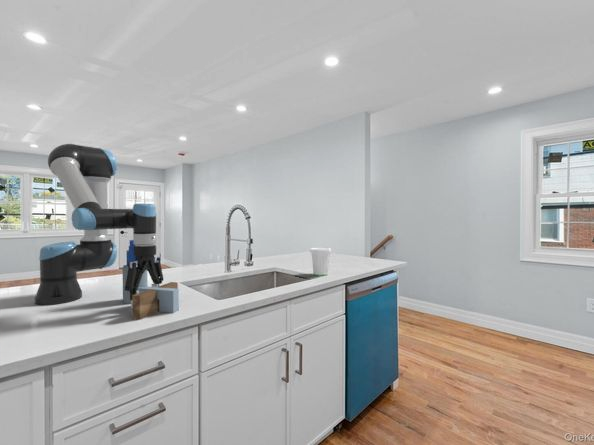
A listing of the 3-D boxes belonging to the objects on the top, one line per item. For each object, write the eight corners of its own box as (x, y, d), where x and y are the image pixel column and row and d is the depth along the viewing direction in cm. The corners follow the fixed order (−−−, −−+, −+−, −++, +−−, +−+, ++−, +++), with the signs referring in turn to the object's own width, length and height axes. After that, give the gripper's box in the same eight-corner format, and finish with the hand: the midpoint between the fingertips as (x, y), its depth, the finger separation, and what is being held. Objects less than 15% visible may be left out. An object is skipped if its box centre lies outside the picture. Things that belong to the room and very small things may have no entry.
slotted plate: (136, 309, 109) (135, 288, 109) (142, 306, 112) (141, 286, 111) (173, 312, 105) (173, 290, 105) (178, 310, 108) (178, 288, 108)
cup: (332, 276, 166) (332, 250, 166) (310, 276, 166) (310, 249, 166) (329, 272, 179) (330, 247, 178) (309, 272, 179) (309, 247, 178)
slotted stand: (132, 318, 99) (132, 295, 99) (171, 301, 118) (171, 282, 118) (140, 319, 98) (139, 296, 98) (177, 302, 118) (177, 282, 117)
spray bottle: (138, 296, 126) (137, 238, 125) (152, 298, 122) (151, 239, 122) (117, 301, 118) (117, 240, 117) (132, 304, 114) (132, 241, 113)
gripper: (129, 248, 97) (130, 315, 98) (173, 242, 119) (173, 297, 119) (111, 248, 99) (112, 313, 100) (157, 242, 120) (157, 295, 121)
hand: (145, 304), depth 109 cm, fingers open, 9 cm apart
